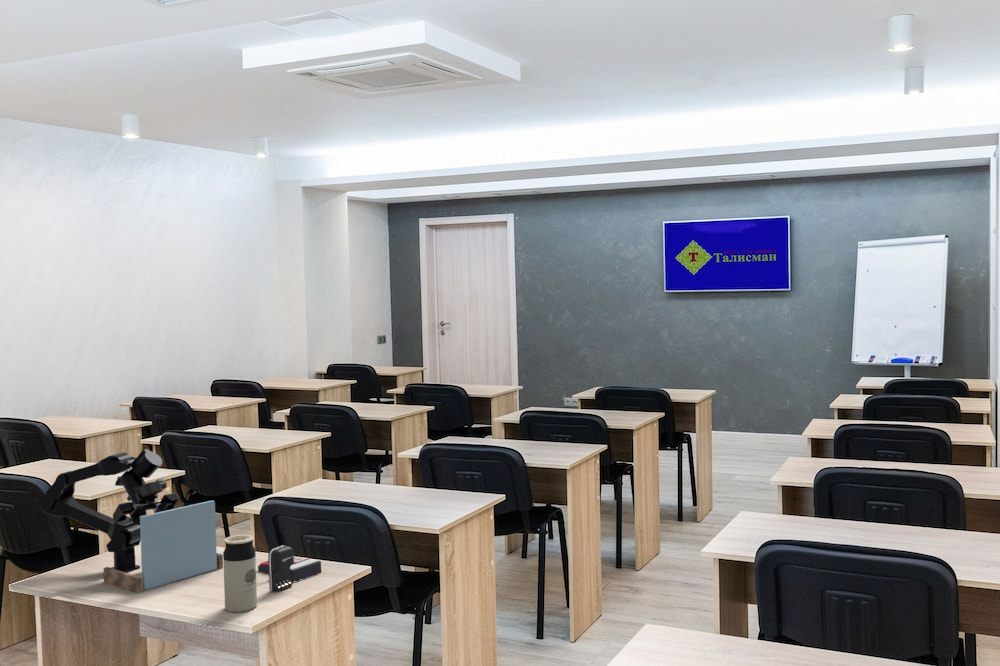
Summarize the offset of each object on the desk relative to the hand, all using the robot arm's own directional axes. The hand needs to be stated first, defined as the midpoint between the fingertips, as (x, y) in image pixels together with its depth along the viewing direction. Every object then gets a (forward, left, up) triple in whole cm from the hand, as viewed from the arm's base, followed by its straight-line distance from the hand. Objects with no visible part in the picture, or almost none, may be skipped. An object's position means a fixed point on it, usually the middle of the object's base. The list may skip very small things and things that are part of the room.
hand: (159, 530), depth 260 cm
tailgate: (+11, 0, -13) cm, 16 cm away
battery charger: (+39, +12, -14) cm, 43 cm away
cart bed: (+2, 0, -14) cm, 14 cm away
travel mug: (+42, -4, -14) cm, 44 cm away
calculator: (+29, +23, -14) cm, 40 cm away
